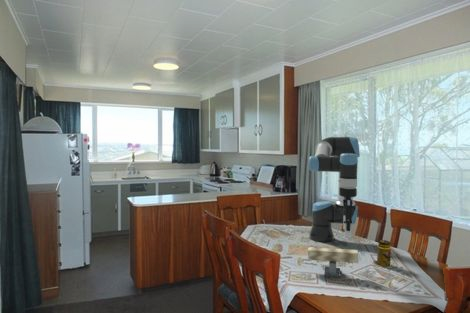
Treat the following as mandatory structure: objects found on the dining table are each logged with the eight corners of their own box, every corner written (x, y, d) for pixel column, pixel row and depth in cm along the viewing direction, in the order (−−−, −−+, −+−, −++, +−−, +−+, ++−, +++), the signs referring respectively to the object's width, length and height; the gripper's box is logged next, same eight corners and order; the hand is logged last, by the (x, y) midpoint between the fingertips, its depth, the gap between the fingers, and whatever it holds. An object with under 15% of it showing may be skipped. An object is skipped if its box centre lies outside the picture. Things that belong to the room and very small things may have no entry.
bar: (308, 259, 151) (308, 250, 151) (308, 256, 155) (308, 247, 155) (358, 263, 144) (358, 253, 144) (357, 259, 149) (357, 250, 149)
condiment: (390, 268, 156) (391, 244, 156) (371, 265, 161) (372, 241, 160) (391, 263, 163) (392, 240, 162) (373, 260, 167) (374, 237, 166)
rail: (324, 268, 156) (325, 255, 156) (339, 270, 154) (340, 256, 154) (324, 276, 146) (324, 262, 146) (340, 278, 144) (341, 264, 144)
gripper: (338, 183, 160) (337, 225, 161) (340, 191, 136) (339, 240, 137) (354, 184, 158) (353, 226, 159) (359, 192, 134) (358, 242, 135)
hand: (346, 233), depth 148 cm, fingers open, 13 cm apart
